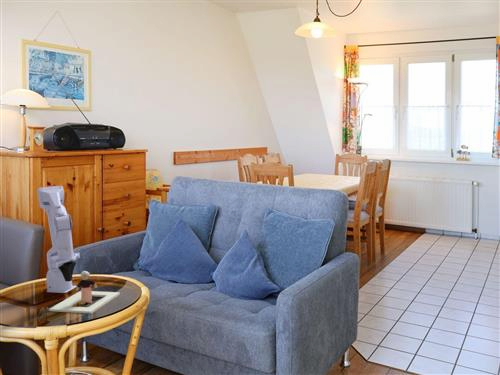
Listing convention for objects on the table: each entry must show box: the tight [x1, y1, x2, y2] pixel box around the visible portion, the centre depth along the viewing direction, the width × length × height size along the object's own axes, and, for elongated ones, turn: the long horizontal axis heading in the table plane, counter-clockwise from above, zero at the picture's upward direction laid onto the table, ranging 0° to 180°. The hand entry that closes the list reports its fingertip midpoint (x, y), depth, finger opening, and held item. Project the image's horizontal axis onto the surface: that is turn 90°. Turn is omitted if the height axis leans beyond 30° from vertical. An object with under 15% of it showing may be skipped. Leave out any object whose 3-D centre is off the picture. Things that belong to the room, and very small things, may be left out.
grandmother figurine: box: [75, 270, 98, 305], centre depth 189 cm, size 8×4×13 cm, turn 118°
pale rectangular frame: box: [48, 290, 121, 315], centre depth 191 cm, size 18×20×1 cm
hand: (68, 280), depth 191 cm, fingers closed
